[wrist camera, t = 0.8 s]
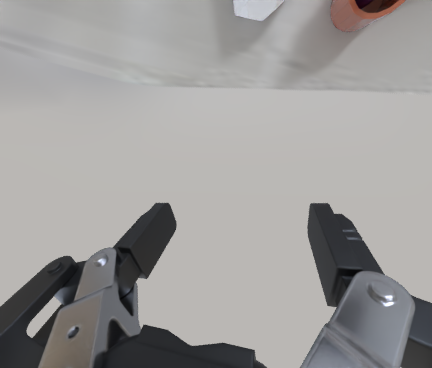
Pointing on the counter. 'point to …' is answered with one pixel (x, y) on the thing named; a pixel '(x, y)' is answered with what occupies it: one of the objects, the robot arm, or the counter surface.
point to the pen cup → (360, 13)
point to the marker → (362, 3)
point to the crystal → (255, 8)
